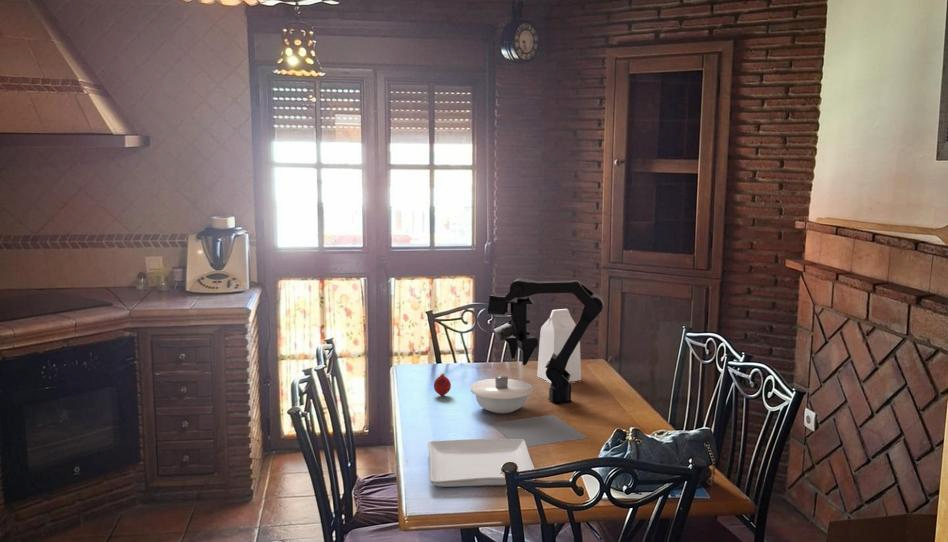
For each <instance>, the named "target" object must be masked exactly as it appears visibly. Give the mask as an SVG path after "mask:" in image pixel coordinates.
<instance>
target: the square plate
mask: <svg viewBox="0 0 948 542" xmlns="http://www.w3.org/2000/svg"><path fill="white" fill-rule="evenodd" d="M427 447H428V454H429V482H430V483H431V484H433V485H434V486H436V487H443V488H447V487H449V488H452V487H474V486H475V487H479V486H480V487H481V486H483V487H485V486H506V485H505V478H504V476H503V474H500V473H501V465H502V464H504V463H506V462H514V463H516V464H517V466H518V470H519V471H523V470H532V469H535V470H536V468H535V467H534V463H533V461H532V458H531V456H530V453H529V450H528V447H527V446H526V443H525V441H524V440H523V439H508V438H477V439H476V438H475V439H474V438H473V439H472V438H471V439H451V440H450V439H448V440H447V439H446V440H436V441H435V440H433V441H429V442H428V444H427Z"/></svg>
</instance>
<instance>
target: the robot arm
mask: <svg viewBox="0 0 948 542" xmlns="http://www.w3.org/2000/svg"><path fill="white" fill-rule="evenodd" d="M539 294H573V295H574V296H575V297H576V299H578V301H579V302H581V304H582V305H583V309H582V311H581V314H580V316H579V319H578V321H577V322H576V323H575V324H576V325H575V327H574V329H573V331H572V332H571V334H570V336H569V337H568V339H567V341H566V343H565V344H564V346H563V348H562V349H561V351H560V352H559V353H558V354H557V355H555V354H554V353H553V354H552V357H551V359H550V361H548V362H547V365H546V367H545V368H547V370H546V376H547V378H548V379H549V380H550V381H551V384H550V387H549V388H548V389H549V390H548V398H547V400H548V401H550V402H551V403H553V404H555V405H564V404H572V403H574V401H573V400H572V383H569V380H570V377H571V375H570V374H569V373H568V372H567V371H566V370H565V368H566V365H567V363H568V360H569V358H570V356H571V354H572V353H573V351H574V349H575V348H576V346H577V344H578V342H579V341H580V342H581V339H582V337H583V336H584V334H585V333H586V331H587V329H588V327H589V325H590V324H591V323H592V322H593V321H594V320H595V319H596V318H597V317H598V316H599V314H600V313H601V312H602V310H603V308H604V304H605V301H604V298H603V297H602V296H601V295H600V294H597V293H595V292H593V291H592V290H591V289H589V288H588V287H587V286H585V285H584V284H583V283H582V282H581V281H580V280H578V279H572V280H545V281H544V280H541V281H539V280H534V279H530V278H523V277H521V278H520V277H519V278H516V279H514V281H513V282H512V283H511V284H510V286H509V292H507V293H506V294H505V295H496V294H490V295H489V299H488V304H487V315H488V316H501V317H502V316H504V317H505V316H506V315H507V314H509V312H510V318H508V319H507V320H506V321H507V323H505V324H503V325H499V326H497V327H496V328H494V329H493V332H494V335H495V337H496V338H495V339H496V340H499V341H501V342H502V341H505V343H506V345H507V348H508V352H509V355H510V356H509V357H510V359H515V357H516V354H517V350H518V349H519V350H520V353H521V354H520V355H521V363H522V365H523V366H526V365H527V364H528V362H529V360H530V358H531V356H532V354H533V352H534V351H535V350H536V349H537V347H539V344H540V339H538V338H537V337H535V336H534V335H530V333H531V332H530V331H528V324H530V323H531V320H530V319H529V318H528V313H529V312H528V310H529V309H528V308H529V305H533V303H534V302H535V301H534V300H533V299H532V298H531V296H535V295H539ZM514 299H515V300H514Z"/></svg>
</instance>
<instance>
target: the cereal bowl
mask: <svg viewBox="0 0 948 542" xmlns="http://www.w3.org/2000/svg"><path fill="white" fill-rule="evenodd" d="M475 398H476V402H477V404H478V406H480V407H481V408H483V409H484V410H486V411H489V412H492V413H495V414H510V413H512V412H514V411H517V410H519V409H520V408H522V407H523V406H524V405H526V402H527V399H528V395H527V396H525V397H521V398H516V399H490V398H484V397H480V396H477V395H475Z"/></svg>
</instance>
